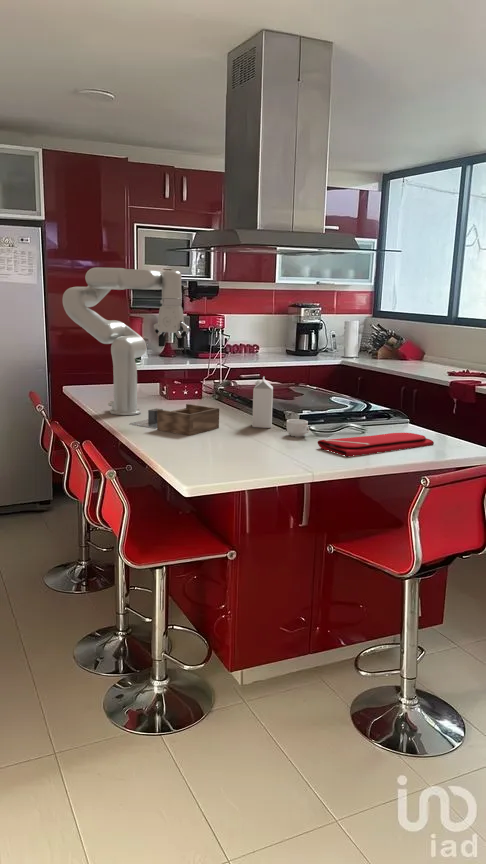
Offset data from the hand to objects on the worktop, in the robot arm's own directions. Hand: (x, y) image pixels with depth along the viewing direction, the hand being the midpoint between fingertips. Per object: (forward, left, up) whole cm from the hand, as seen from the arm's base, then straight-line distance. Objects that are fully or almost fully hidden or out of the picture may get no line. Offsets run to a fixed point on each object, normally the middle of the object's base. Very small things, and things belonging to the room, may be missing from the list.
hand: (171, 347), depth 274 cm
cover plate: (+4, -14, -29) cm, 32 cm away
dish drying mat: (+87, +5, -29) cm, 92 cm away
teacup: (+58, +2, -29) cm, 65 cm away
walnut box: (+20, -14, -28) cm, 37 cm away
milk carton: (+38, +9, -28) cm, 48 cm away
